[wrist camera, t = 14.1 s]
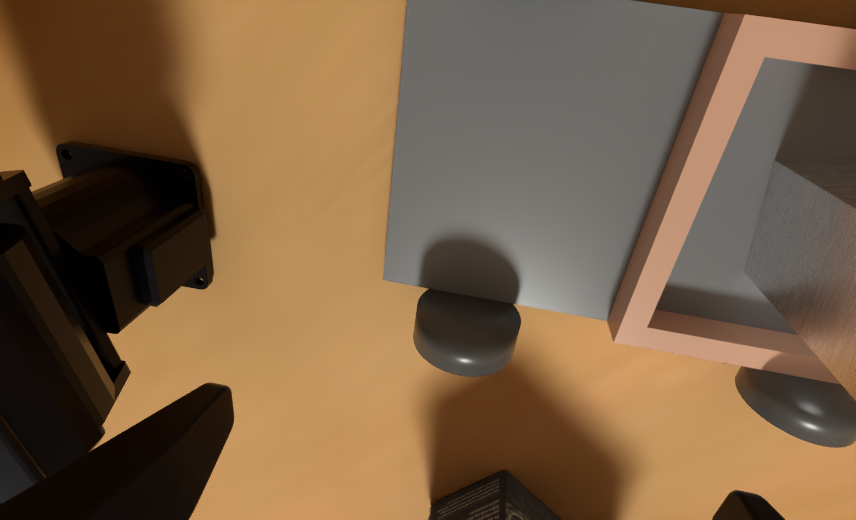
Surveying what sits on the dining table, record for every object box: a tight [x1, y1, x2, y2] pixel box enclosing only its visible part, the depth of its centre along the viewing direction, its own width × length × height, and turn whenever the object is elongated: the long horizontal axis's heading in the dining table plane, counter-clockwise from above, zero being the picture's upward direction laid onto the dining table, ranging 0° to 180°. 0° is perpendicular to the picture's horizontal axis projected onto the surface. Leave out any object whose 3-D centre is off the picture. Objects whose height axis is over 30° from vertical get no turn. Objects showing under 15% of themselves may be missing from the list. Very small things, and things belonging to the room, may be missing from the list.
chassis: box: [383, 0, 856, 448], centre depth 17 cm, size 22×15×4 cm
